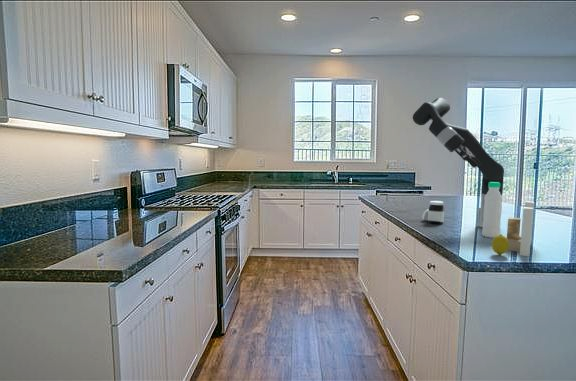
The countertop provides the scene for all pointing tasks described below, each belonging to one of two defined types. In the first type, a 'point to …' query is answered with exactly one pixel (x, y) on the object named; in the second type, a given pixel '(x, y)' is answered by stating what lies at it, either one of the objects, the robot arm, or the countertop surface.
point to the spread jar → (434, 213)
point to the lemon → (500, 244)
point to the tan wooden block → (513, 228)
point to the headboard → (524, 232)
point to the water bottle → (492, 211)
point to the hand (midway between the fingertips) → (477, 165)
